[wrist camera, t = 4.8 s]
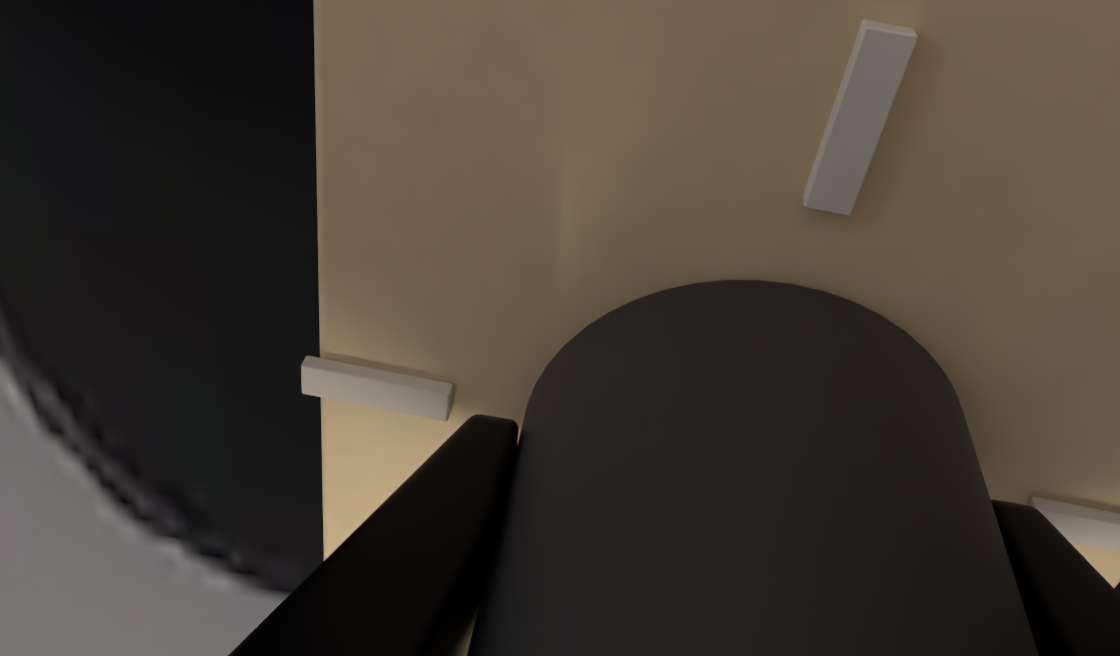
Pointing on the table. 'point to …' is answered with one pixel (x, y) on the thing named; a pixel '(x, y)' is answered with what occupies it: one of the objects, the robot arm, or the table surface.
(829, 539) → the dial
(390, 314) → the dial panel
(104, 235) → the table surface
